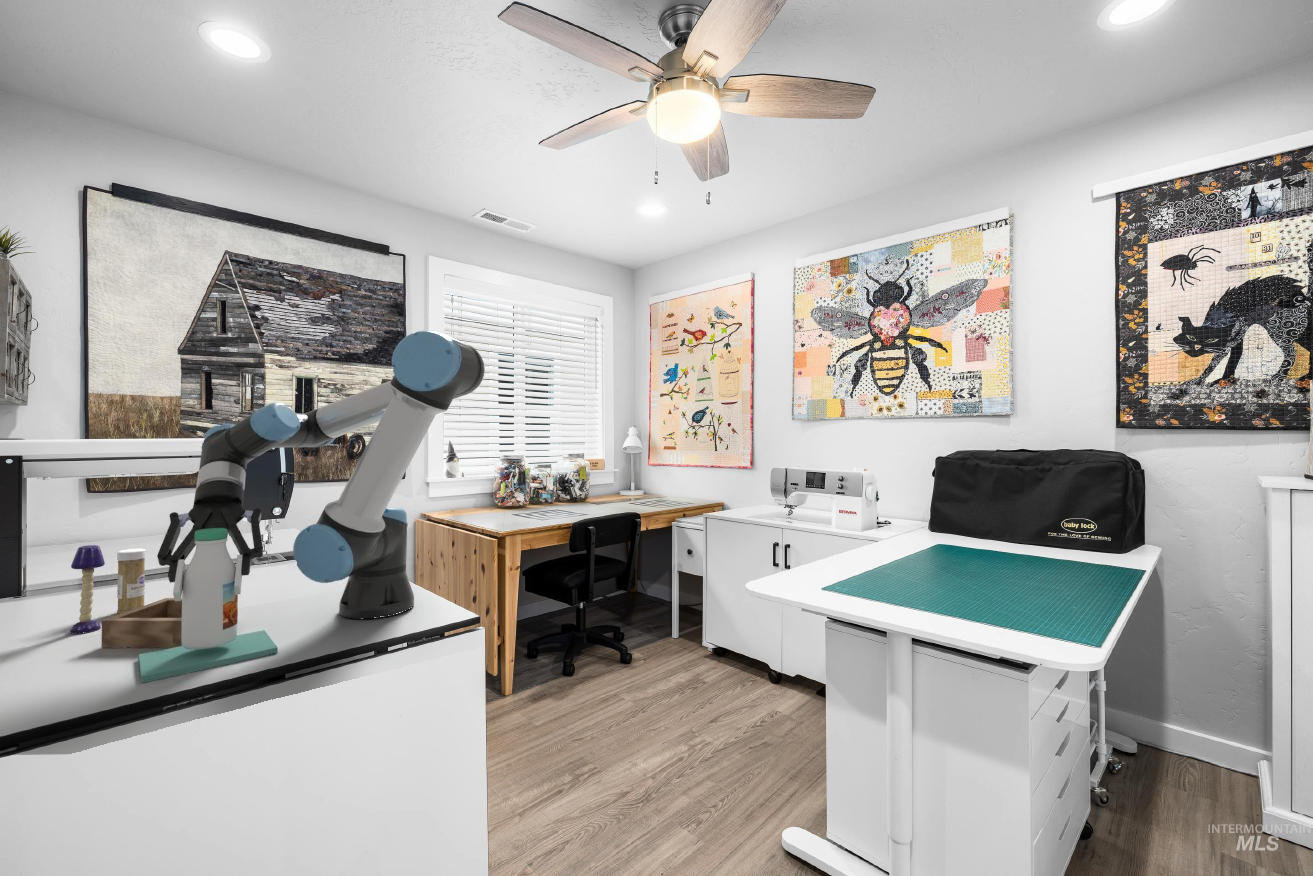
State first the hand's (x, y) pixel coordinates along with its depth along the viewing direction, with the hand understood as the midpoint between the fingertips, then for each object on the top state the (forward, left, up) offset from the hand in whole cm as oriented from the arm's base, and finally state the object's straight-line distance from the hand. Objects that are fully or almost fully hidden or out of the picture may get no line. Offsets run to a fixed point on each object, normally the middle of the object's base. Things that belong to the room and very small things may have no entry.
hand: (207, 593), depth 95 cm
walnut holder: (+17, -14, -12) cm, 25 cm away
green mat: (+2, -3, -12) cm, 13 cm away
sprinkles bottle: (+37, -28, -12) cm, 48 cm away
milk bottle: (+2, -3, -10) cm, 10 cm away
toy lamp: (+35, -16, -12) cm, 40 cm away
